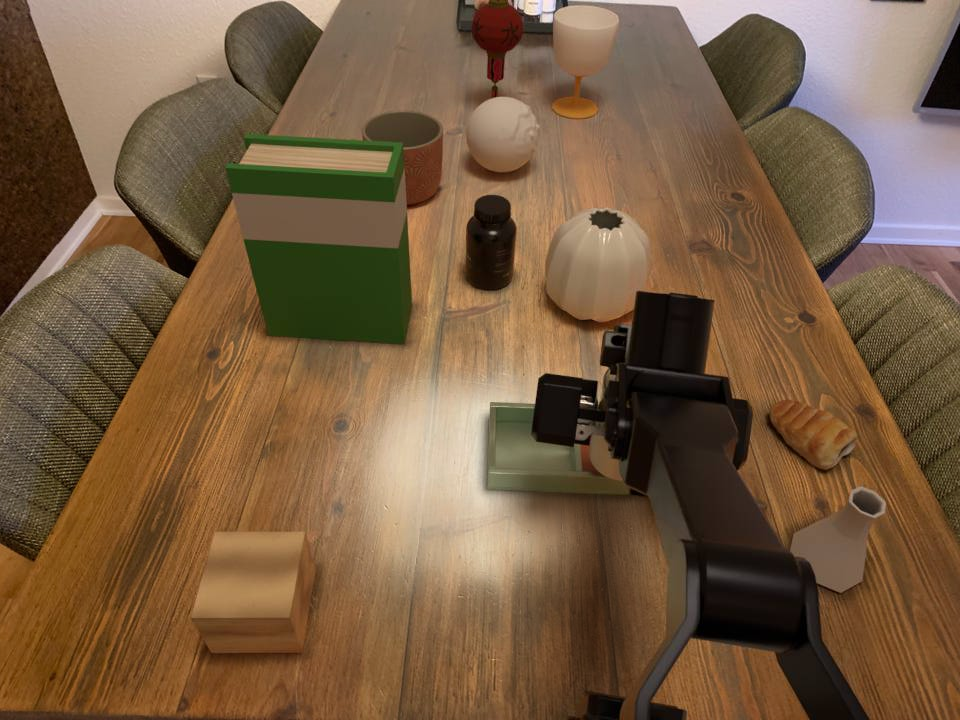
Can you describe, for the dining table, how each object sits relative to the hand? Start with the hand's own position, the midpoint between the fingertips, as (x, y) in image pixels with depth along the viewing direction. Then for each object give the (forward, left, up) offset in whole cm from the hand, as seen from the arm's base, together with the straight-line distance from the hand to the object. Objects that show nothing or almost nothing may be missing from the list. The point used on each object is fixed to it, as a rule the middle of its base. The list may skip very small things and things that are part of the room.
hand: (628, 414), depth 71 cm
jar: (-1, 0, -5) cm, 5 cm away
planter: (+43, +44, -9) cm, 62 cm away
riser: (-27, +27, -9) cm, 39 cm away
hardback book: (+11, +39, -9) cm, 41 cm away
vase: (+27, +9, -9) cm, 29 cm away
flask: (-3, -22, -9) cm, 24 cm away
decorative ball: (+56, +32, -9) cm, 65 cm away
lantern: (+76, +40, -9) cm, 86 cm away
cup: (+82, +25, -9) cm, 87 cm away
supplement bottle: (+27, +24, -9) cm, 37 cm away
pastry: (+12, -20, -9) cm, 25 cm away
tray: (0, +5, -9) cm, 10 cm away
